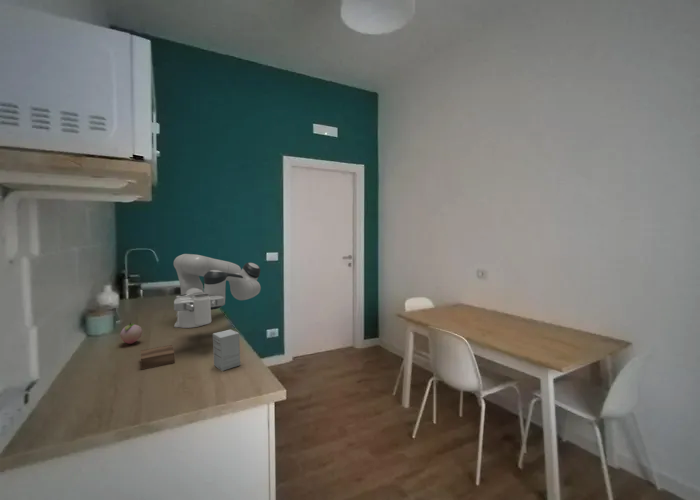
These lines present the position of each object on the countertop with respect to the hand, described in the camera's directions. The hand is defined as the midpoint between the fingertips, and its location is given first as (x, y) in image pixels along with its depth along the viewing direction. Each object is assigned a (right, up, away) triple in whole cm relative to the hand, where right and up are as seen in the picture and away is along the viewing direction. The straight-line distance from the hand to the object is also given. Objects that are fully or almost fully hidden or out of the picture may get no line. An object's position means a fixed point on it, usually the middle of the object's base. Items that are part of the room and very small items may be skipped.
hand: (202, 306), depth 138 cm
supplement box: (+15, -21, -12) cm, 28 cm away
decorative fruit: (-39, -20, +14) cm, 46 cm away
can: (0, -7, +1) cm, 8 cm away
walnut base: (-14, -21, -7) cm, 26 cm away
